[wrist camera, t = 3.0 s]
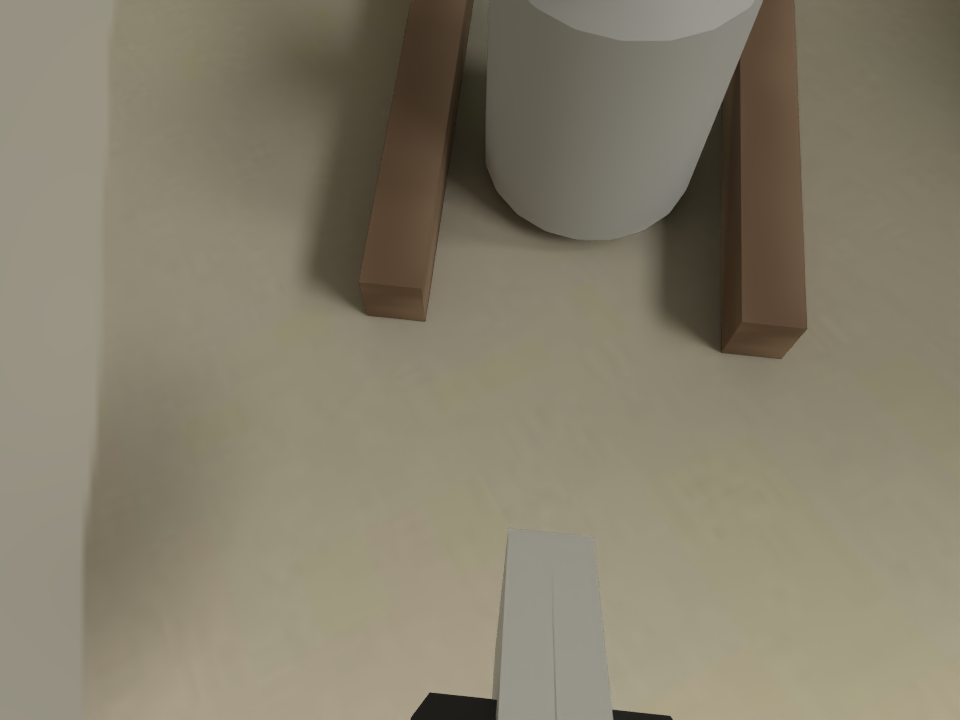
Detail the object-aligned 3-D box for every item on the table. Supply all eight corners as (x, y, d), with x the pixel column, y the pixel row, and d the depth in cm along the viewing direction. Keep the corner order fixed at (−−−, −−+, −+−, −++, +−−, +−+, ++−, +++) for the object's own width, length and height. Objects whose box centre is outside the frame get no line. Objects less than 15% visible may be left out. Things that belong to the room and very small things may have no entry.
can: (468, 97, 33) (467, -218, 22) (659, 72, 34) (752, -247, 22) (503, 268, 30) (522, 5, 19) (711, 238, 31) (846, -35, 20)
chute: (771, -3, 35) (792, -52, 33) (781, 358, 29) (807, 328, 27) (429, -34, 36) (426, -85, 33) (366, 315, 29) (358, 282, 27)
